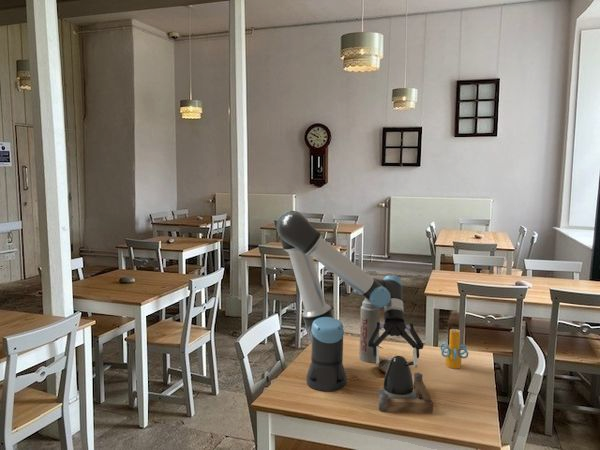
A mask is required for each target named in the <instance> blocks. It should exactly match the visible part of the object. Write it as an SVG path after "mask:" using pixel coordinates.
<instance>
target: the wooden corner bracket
mask: <svg viewBox="0 0 600 450" xmlns="http://www.w3.org/2000/svg"><path fill="white" fill-rule="evenodd" d="M423 378H424V377H423V374H422V373H420V372H415V373H414V374H413V390H414V391H415V394H416V396H417V399H396V398H388V395H387V394H384V393H382V394H379V393H378V411H380V412H381V413H386V412H387V413H407V414H409V413H410V414H411V413H412V414H414V413H415V414H433V413H434V402H433V400H432V397H431V395H430V393H429V391H428V389H427V386H426V385H425V383H424V381H423V380H424V379H423Z"/></svg>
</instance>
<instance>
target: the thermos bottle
mask: <svg viewBox="0 0 600 450" xmlns="http://www.w3.org/2000/svg"><path fill="white" fill-rule="evenodd" d="M361 304H362V305H361V306H360V315H359V316H360V320H359V321H360V322H359V325H360V326H359V329H360V330H359V334H360V335H359V357H358V359H359V360H360V361H361V362H365V363H376V356H373V348H372V347H369V346H368V342H369V340H370V338H371V337H372V335H373V333H374V331H375V329H376V326H377V322H379V323H380V324H381V322H380V321H381V320H380V317H381V315H380V314H381V308H379V307H376V306H374V305H373V304H371V302H370V301H368V300H367V299H366V298H365V297H364V300H363V301H362V303H361ZM379 337H380V331H379V332H378V334H377V336H376V338H375V340H374V342H373V343H375V342H376V340H377V339H378V338H379ZM378 346H379V347H380V344H379V345H378Z"/></svg>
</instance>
